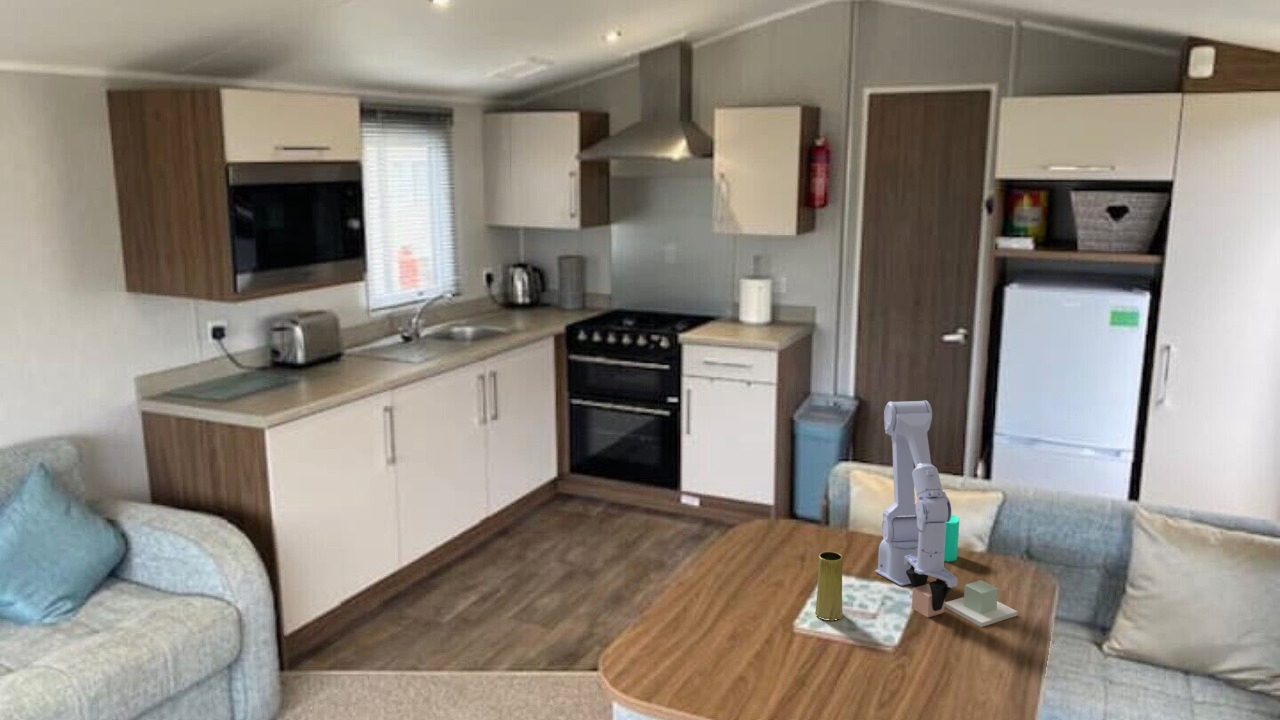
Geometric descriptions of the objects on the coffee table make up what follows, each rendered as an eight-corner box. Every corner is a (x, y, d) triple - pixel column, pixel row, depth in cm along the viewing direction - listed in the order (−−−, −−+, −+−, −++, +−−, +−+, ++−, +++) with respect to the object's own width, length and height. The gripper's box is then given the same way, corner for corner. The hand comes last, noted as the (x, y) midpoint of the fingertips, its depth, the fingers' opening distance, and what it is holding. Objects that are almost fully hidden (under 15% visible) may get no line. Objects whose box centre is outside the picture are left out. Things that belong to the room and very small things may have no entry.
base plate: (944, 606, 219) (944, 602, 219) (979, 596, 224) (979, 592, 224) (981, 627, 210) (981, 622, 210) (1017, 615, 215) (1017, 611, 215)
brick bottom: (963, 605, 218) (964, 584, 217) (979, 600, 220) (980, 580, 219) (980, 614, 214) (981, 593, 213) (996, 609, 216) (998, 588, 215)
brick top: (911, 608, 219) (912, 588, 218) (928, 603, 221) (929, 583, 220) (927, 617, 215) (928, 596, 214) (944, 612, 217) (945, 591, 216)
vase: (811, 618, 215) (813, 558, 212) (819, 606, 220) (821, 548, 217) (838, 623, 212) (840, 563, 209) (846, 612, 218) (848, 553, 215)
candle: (954, 552, 249) (957, 508, 247) (959, 561, 243) (962, 517, 241) (930, 551, 250) (933, 508, 247) (935, 561, 244) (937, 516, 241)
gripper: (895, 540, 219) (892, 595, 222) (941, 563, 207) (938, 621, 210) (918, 534, 222) (915, 589, 225) (965, 557, 210) (962, 614, 213)
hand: (928, 604), depth 218 cm, fingers closed on brick top, 5 cm apart
